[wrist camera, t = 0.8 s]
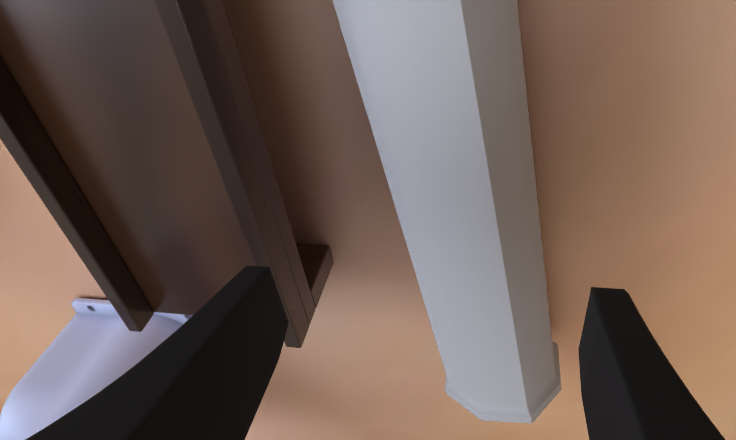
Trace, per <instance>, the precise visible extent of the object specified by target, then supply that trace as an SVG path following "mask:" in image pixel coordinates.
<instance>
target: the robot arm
mask: <svg viewBox="0 0 736 440" xmlns="http://www.w3.org/2000/svg"><path fill="white" fill-rule="evenodd" d="M71 305H72V307H73V308H74V310H75V311H76V312H77V313H76V315H75V316H74V317H73V318H72V319H71V320H70V322H69V323H68V324H67V325H66V326H65V328H64V329H63V330H62V331H61V332H60V333H59V335H58V336H57V337H56V338H55V339H54V341H53V342H52V343H51V344H50V345H49V346H48V348H47V349H46V350H45V351H44V352H43V354H42V355H41V356H40V357H39V358H38V360H37V361H36V362H35V363H34V364H33V365H32V367H31V368H30V369H29V370H28V371H27V373H26V374H25V375H24V376H23V377H22V378H21V380H20V381H19V382H18V383H17V384H16V386H15V387H14V388H13V390H12V391H11V393H10V395H9V396H8V398H7V400H6V402H5V404H4V407H3V409H2V412H1V415H0V440H245V437H246V435H247V433H248V430H249V428H250V426H251V423H252V421H253V419H254V416H255V414H256V412H257V410H258V407H259V405H260V403H261V400H262V398H263V396H264V393H265V391H266V389H267V386H268V384H269V382H270V379H271V377H272V374H273V372H274V370H275V367H276V365H277V362H278V359H279V356H280V353H281V349H282V346H283V343H284V339H285V335H286V331H287V328H288V324H289V321H288V318H287V315H286V313H285V310H284V307H283V304H282V301H281V298H280V295H279V293H278V290H277V287H276V284H275V281H274V278H273V275H272V273H271V270H270V267H263V266H246V267H244V268H243V269H242V270H241V271H240V272H239V273H238V274H237V275H236V276H234V277H233V278H232V279H231V280H230V281H229V282H228V283H227V284H226V285H225V286H224V287H223V288H222V289H221V290H220V291H219V292H218V293H216V294H215V295H214V296H213V297H212V298H211V299H210V300H209V301H208V302H207V303H206V304H205V305H204V306H203V307H201V308H200V309H199V310H198V311H197V312H196V313H195V314H194V315H182V314H170V313H159V312H154V315H153V316H152V318H151V319H150V320H149V322H148V323H147V325H146V326H145V328H144V329H143V330H142V332H135V331H129V329H128V328H127V327H126V325H125V324H124V322H123V321H122V319H121V318H120V316H119V315H118V313H117V312H116V310H115V309H114V307H113V306H112V304H111V303H110V301H109V300H99V299H86V298H75V299H74V300H73V301H72V303H71ZM579 363H580V379H581V393H582V400H583V406H584V412H585V417H586V423H587V429H588V434H589V440H725V439H724V437H723V436H722V435H721V434H720V432H719V431H718V430H717V428H716V427H715V426H714V424H713V423H712V422H711V420H710V419H709V418H708V416H707V415H706V414H705V412H704V411H703V410H702V408H701V407H700V406H699V404H698V403H697V401H696V400H695V399H694V397H693V396H692V395H691V393H690V392H689V390H688V389H687V387H686V386H685V384H684V383H683V381H682V380H681V379H680V377H679V376H678V374H677V373H676V371H675V370H674V368H673V367H672V365H671V364H670V362H669V361H668V359H667V358H666V356H665V355H664V353H663V352H662V350H661V348H660V347H659V345H658V344H657V342H656V340H655V339H654V337H653V336H652V334H651V332H650V331H649V329H648V327H647V326H646V324H645V322H644V321H643V319H642V317H641V315H640V314H639V312H638V310H637V308H636V306H635V305H634V303H633V301H632V299H631V297H630V295H629V294H628V293H627V292H626V291H625V290H624V289H611V288H596V287H591V292H590V297H589V302H588V307H587V311H586V316H585V321H584V326H583V331H582V336H581V340H580V345H579Z"/></svg>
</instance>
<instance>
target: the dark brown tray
mask: <svg viewBox="0 0 736 440" xmlns="http://www.w3.org/2000/svg"><path fill="white" fill-rule="evenodd" d="M0 139H1V140H2V142H3V143H4V145H5V146H6V148H7V149H8V151H9V152H10V154H11V155H12V156H13V158H14V159H15V161H16V162H17V164H18V165H19V167H20V168H21V170H22V171H23V173H24V174H25V176H26V177H27V179H28V180H29V182H30V183H31V185H32V186H33V188H34V189H35V191H36V192H37V194H38V195H39V197H40V198H41V200H42V201H43V203H44V204H45V206H46V207H47V209H48V210H49V212H50V213H51V215H52V216H53V218H54V219H55V221H56V222H57V224H58V225H59V227H60V228H61V230H62V231H63V233H64V234H65V236H66V237H67V239H68V240H69V241H70V243H71V244H72V246H73V247H74V249H75V250H76V252H77V253H78V255H79V256H80V258H81V259H82V261H83V262H84V264H85V265H86V267H87V268H88V270H89V271H90V273H91V274H92V276H93V277H94V279H95V280H96V282H97V283H98V285H99V286H100V288H101V289H102V291H103V292H104V294H105V295H106V297H107V298H108V300H109V301H110V303H111V304H112V306H113V307H114V309H115V310H116V312H117V313H118V315H119V316H120V318H121V319H122V321H123V322H124V324H125V325H126V327H127V328H128V329H129V331H135V332H142V330H143V329H144V328H145V326H146V325H147V323H148V322H149V320H150V319H151V318H152V316H153V315H154V312H159V313H170V314H182V315H194V314H195V313H196V312H197V311H198V310H199V309H200V308H201V307H203V306H204V305H205V304H206V303H207V302H208V301H209V300H210V299H211V298H212V297H213V296H214V295H215V294H216V293H218V292H219V291H220V290H221V289H222V288H223V287H224V286H225V285H226V284H227V283H228V282H229V281H230V280H231V279H232V278H233V277H234V276H236V275H237V274H238V273H239V272H240V271H241V270H242V269H243V268H244V267H246V266H263V267H270V270H271V273H272V275H273V278H274V281H275V284H276V287H277V290H278V293H279V295H280V298H281V301H282V304H283V307H284V310H285V313H286V315H287V318H288V321H289V324H288V328H287V331H286V335H285V339H284V342H285V344H286V346H287V347H295V348H301V347H302V344H303V341H304V339H305V336H306V333H307V331H308V328H309V325H310V322H311V320H312V317H313V315H314V312H315V308H316V307H317V304H318V302H319V299H320V297H321V294H322V291H323V289H324V286H325V284H326V281H327V278H328V276H329V273H330V271H331V268H332V265H333V260H332V256H331V252H330V248H329V246H313V245H296V243H295V240H294V236H293V233H292V230H291V226H290V223H289V220H288V217H287V213H286V210H285V207H284V203H283V200H282V197H281V194H280V190H279V187H278V184H277V180H276V177H275V174H274V170H273V167H272V164H271V161H270V157H269V154H268V151H267V147H266V144H265V141H264V138H263V134H262V131H261V128H260V124H259V121H258V118H257V114H256V111H255V108H254V105H253V101H252V98H251V95H250V91H249V88H248V85H247V81H246V78H245V75H244V72H243V68H242V65H241V62H240V58H239V55H238V52H237V49H236V45H235V42H234V39H233V35H232V32H231V29H230V25H229V22H228V19H227V16H226V12H225V9H224V6H223V2H222V0H0Z"/></svg>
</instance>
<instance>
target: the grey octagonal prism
mask: <svg viewBox="0 0 736 440" xmlns="http://www.w3.org/2000/svg"><path fill="white" fill-rule="evenodd" d="M332 1H333V4H334V7H335V11H336V14H337V17H338V20H339V24H340V27H341V30H342V34H343V37H344V40H345V43H346V47H347V50H348V53H349V57H350V60H351V63H352V66H353V70H354V73H355V76H356V80H357V83H358V86H359V90H360V93H361V96H362V99H363V103H364V106H365V109H366V113H367V116H368V119H369V122H370V126H371V129H372V132H373V136H374V139H375V142H376V145H377V149H378V152H379V155H380V159H381V162H382V165H383V168H384V172H385V175H386V178H387V182H388V185H389V188H390V191H391V195H392V198H393V201H394V205H395V208H396V211H397V214H398V218H399V221H400V224H401V228H402V231H403V234H404V237H405V241H406V244H407V247H408V251H409V254H410V257H411V260H412V264H413V267H414V270H415V274H416V277H417V280H418V283H419V287H420V290H421V293H422V297H423V300H424V303H425V306H426V310H427V313H428V316H429V320H430V323H431V326H432V329H433V333H434V336H435V339H436V343H437V346H438V349H439V352H440V356H441V359H442V362H443V366H444V369H445V372H446V381H445V391H446V394H448V395H449V396H450V397H451V398H453V399H454V400H455V401H457V402H458V403H459V404H461V405H462V406H463V407H465V408H466V409H467V410H468V411H470V412H471V413H472V414H474V415H475V416H476V417H478V418H479V419H480V420H482V421H501V422H519V423H533V422H534V420H535V419H536V418H537V417H538V416H539V415H540V413H541V412H542V411H543V410H544V409H545V408H546V407H547V405H548V404H549V403H550V402H551V401H552V400H553V398H554V397H555V396H556V395H557V394H558V393H559V391H560V390H561V379H560V366H559V354H558V345H557V344H556V343H555V342H553V341H552V336H551V326H550V316H549V306H548V297H547V287H546V277H545V267H544V257H543V248H542V238H541V228H540V218H539V209H538V199H537V189H536V179H535V170H534V160H533V150H532V140H531V131H530V121H529V111H528V101H527V92H526V82H525V72H524V62H523V53H522V43H521V33H520V23H519V13H518V4H517V0H332Z"/></svg>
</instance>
